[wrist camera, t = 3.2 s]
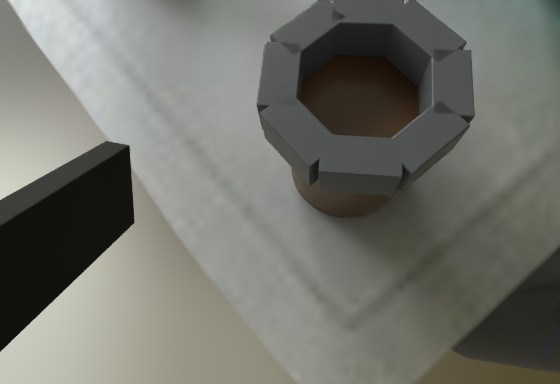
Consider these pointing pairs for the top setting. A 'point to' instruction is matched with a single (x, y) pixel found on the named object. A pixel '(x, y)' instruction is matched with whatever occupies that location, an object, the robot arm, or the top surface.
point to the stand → (356, 117)
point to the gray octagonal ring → (366, 42)
